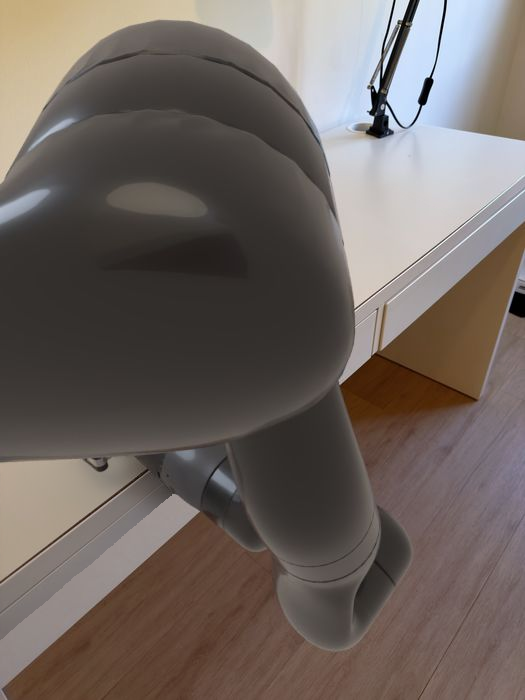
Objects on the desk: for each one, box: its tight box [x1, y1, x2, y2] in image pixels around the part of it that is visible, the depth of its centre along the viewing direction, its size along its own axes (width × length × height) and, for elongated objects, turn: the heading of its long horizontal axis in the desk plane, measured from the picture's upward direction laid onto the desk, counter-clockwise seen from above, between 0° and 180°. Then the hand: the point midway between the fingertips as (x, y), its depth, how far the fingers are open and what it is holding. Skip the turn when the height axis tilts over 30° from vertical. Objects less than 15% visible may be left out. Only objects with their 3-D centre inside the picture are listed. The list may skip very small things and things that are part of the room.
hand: (97, 376), depth 57 cm, fingers open, 8 cm apart
